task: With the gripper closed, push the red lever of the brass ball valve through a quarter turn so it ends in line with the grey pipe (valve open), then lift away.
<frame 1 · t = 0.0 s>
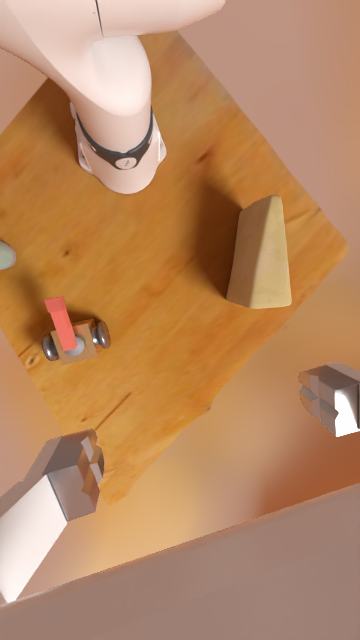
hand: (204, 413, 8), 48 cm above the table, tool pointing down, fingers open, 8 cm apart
valve: (82, 336, 54), on the table
coffee cup: (2, 255, 48), on the table
lever: (65, 328, 45), point 8 cm above the table, hinge at 0.0°
cheese: (241, 257, 56), on the table
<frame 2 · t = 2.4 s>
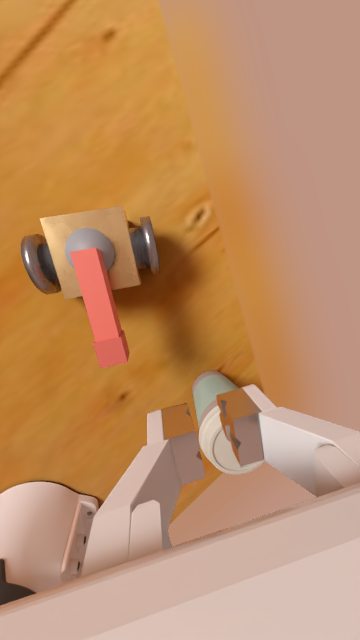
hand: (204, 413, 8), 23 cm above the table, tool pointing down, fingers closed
valve: (104, 257, 28), on the table
coffee cup: (209, 386, 35), on the table
lever: (100, 297, 21), point 8 cm above the table, hinge at 0.0°
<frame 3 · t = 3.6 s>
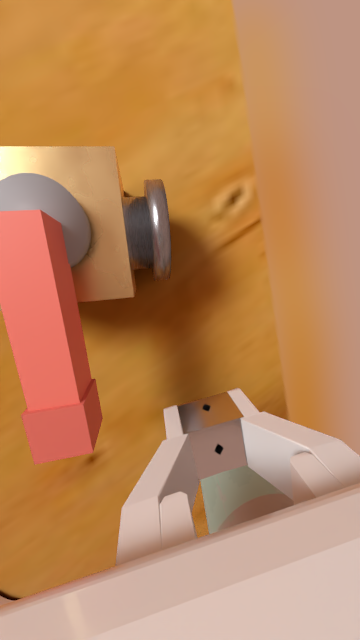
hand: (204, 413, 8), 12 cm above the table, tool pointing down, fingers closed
valve: (80, 246, 18), on the table
coffee cup: (221, 447, 24), on the table
lever: (50, 316, 11), point 8 cm above the table, hinge at 0.0°
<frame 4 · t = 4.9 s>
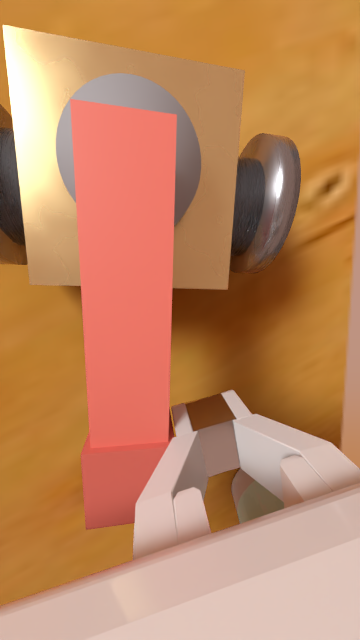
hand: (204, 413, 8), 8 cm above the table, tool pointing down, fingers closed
valve: (139, 219, 14), on the table
coffee cup: (259, 480, 20), on the table
lever: (132, 302, 7), point 8 cm above the table, hinge at 0.0°, touching gripper
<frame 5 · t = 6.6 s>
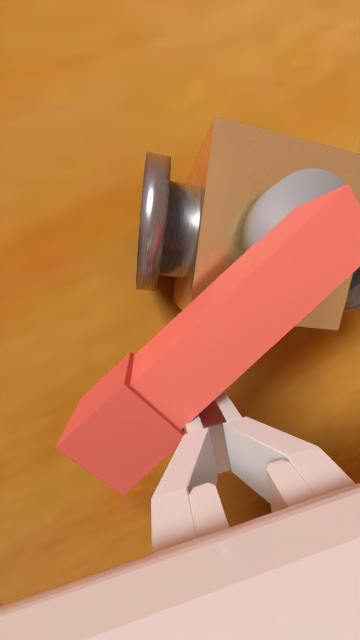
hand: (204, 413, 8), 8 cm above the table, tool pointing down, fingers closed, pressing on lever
valve: (233, 252, 16), on the table
lever: (233, 310, 8), point 8 cm above the table, hinge at 41.0°, touching gripper
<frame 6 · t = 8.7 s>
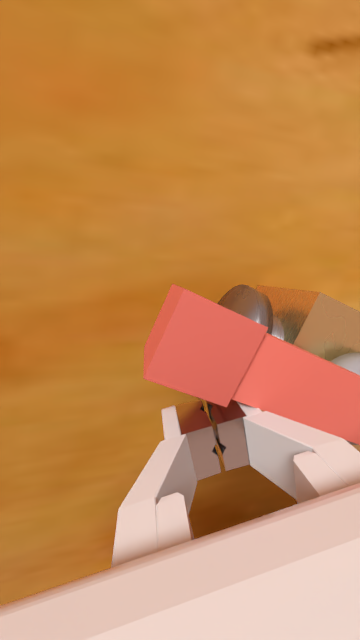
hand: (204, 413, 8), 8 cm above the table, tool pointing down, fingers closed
valve: (277, 350, 18), on the table
lever: (308, 382, 9), point 8 cm above the table, hinge at 91.8°, touching gripper
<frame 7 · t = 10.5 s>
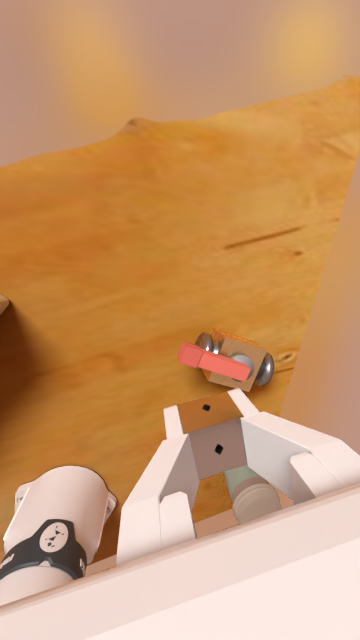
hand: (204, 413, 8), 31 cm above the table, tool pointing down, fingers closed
valve: (225, 353, 42), on the table
coffee cup: (232, 456, 48), on the table
lever: (219, 363, 34), point 8 cm above the table, hinge at 91.9°
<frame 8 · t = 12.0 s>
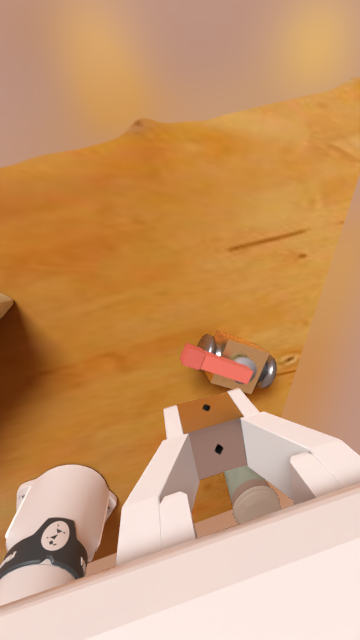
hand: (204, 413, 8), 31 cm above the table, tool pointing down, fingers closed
valve: (227, 355, 43), on the table
coffee cup: (233, 458, 48), on the table
lever: (222, 365, 34), point 8 cm above the table, hinge at 91.9°
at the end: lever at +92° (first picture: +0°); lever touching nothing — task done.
